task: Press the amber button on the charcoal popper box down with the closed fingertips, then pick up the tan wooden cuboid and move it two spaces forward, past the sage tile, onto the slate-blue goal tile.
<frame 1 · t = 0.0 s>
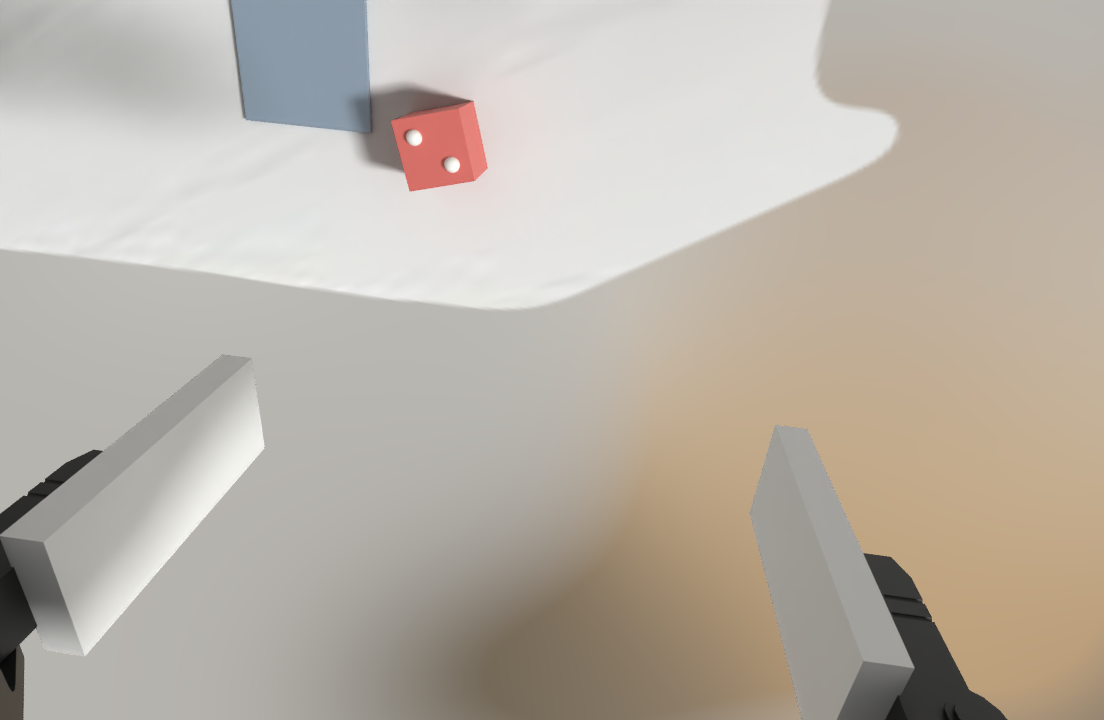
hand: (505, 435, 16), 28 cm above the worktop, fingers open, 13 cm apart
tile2: (303, 56, 39), on the worktop
die: (450, 140, 41), on the worktop
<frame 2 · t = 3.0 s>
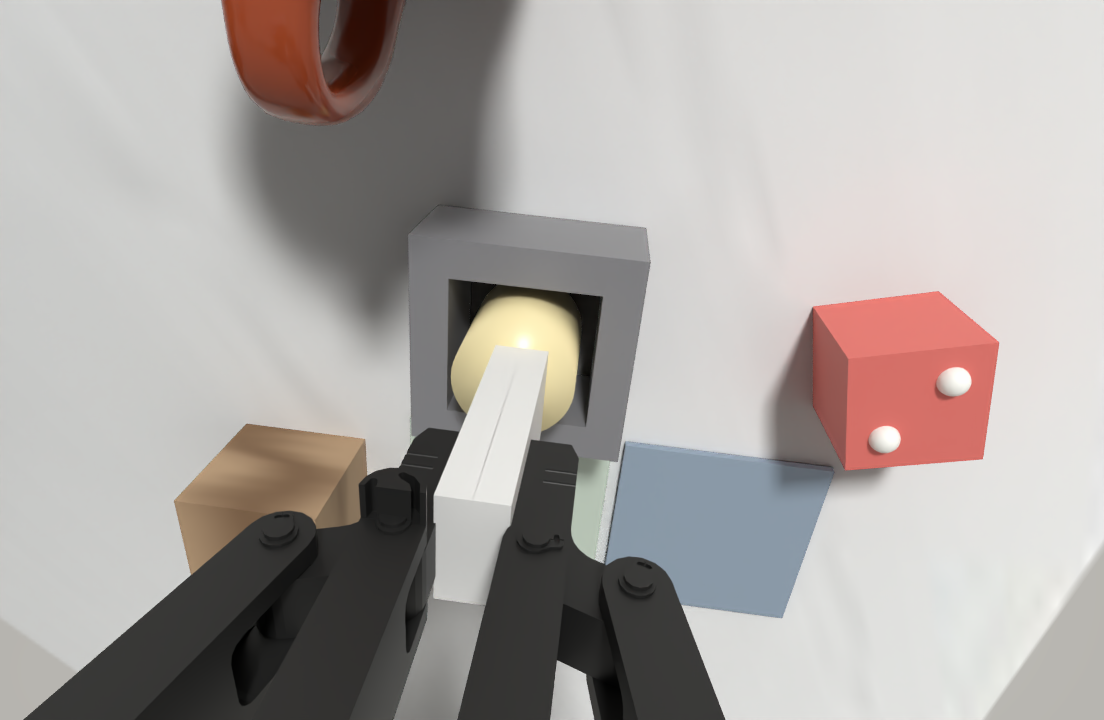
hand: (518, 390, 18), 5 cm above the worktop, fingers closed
tan wooden cuboid: (311, 478, 28), on the worktop
button: (521, 352, 20), point 3 cm above the worktop, slide at -1.3 cm, touching gripper
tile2: (707, 532, 27), on the worktop
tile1: (506, 506, 28), on the worktop
die: (871, 350, 23), on the worktop
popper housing: (533, 312, 23), on the worktop
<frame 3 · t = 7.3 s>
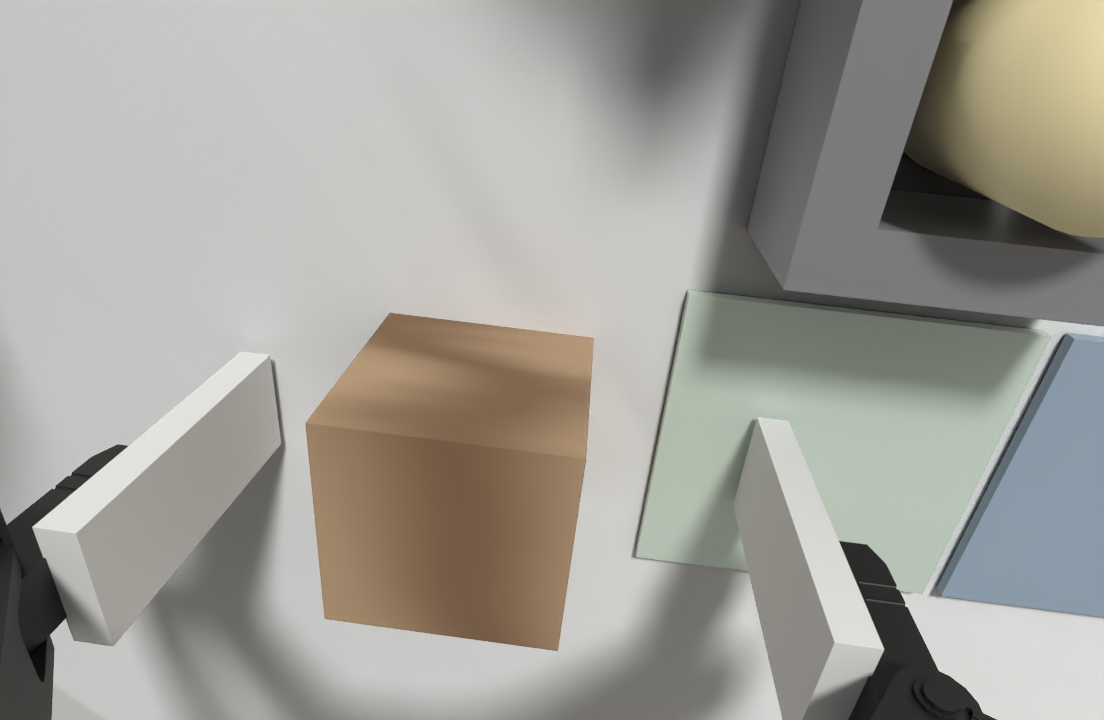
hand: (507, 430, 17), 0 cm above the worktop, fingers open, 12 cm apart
tan wooden cuboid: (486, 410, 17), on the worktop
button: (1057, 85, 10), point 3 cm above the worktop, slide at -1.8 cm
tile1: (815, 453, 17), on the worktop
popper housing: (972, 72, 12), on the worktop
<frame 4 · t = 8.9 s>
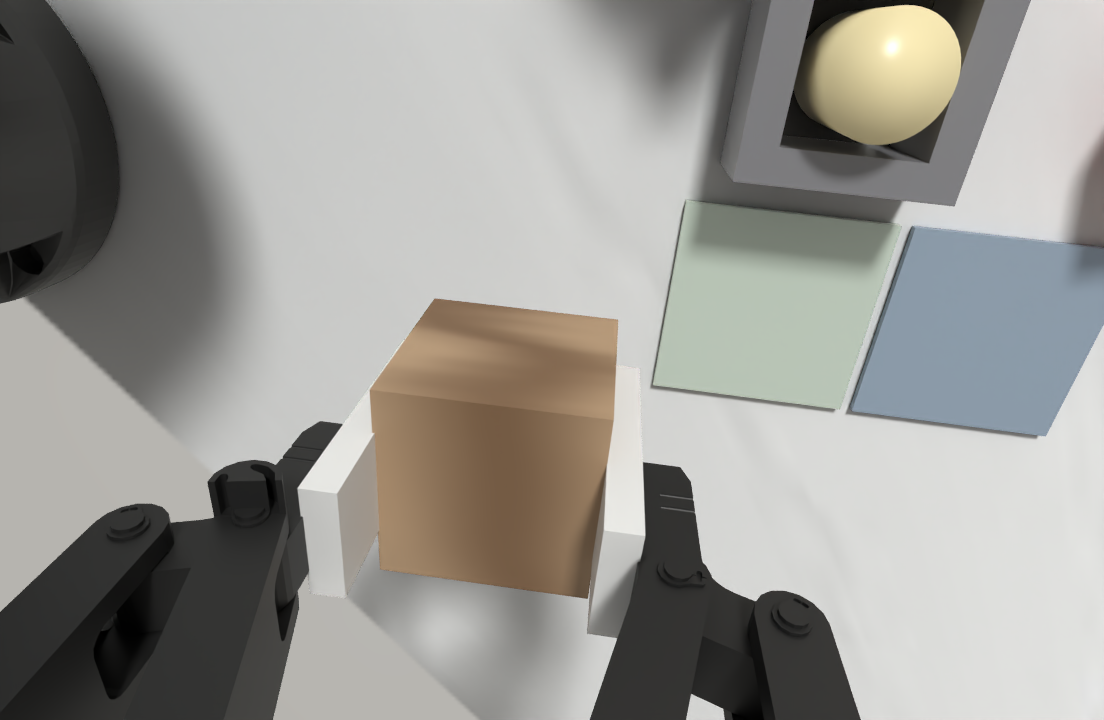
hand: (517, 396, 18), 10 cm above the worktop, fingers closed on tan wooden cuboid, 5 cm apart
tan wooden cuboid: (520, 388, 19), point 9 cm above the worktop, touching gripper
button: (868, 74, 20), point 3 cm above the worktop, slide at -1.8 cm
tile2: (981, 335, 26), on the worktop
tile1: (766, 309, 27), on the worktop
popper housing: (842, 70, 22), on the worktop
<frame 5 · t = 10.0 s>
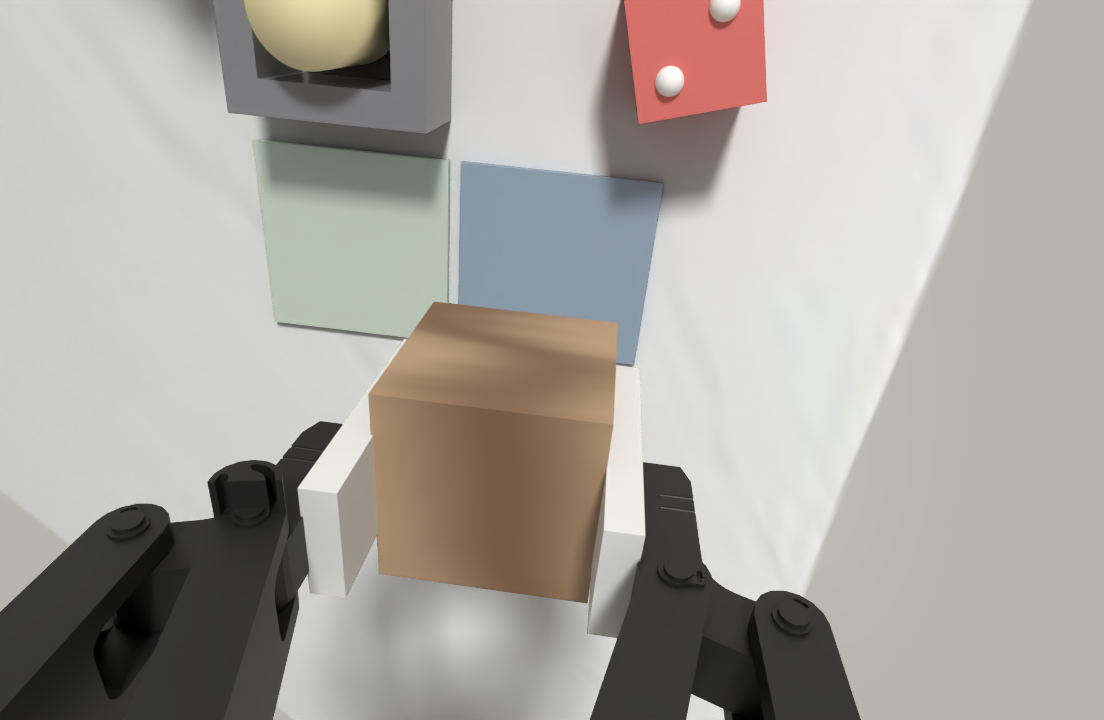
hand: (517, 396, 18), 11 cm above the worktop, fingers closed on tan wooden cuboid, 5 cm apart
tan wooden cuboid: (519, 392, 19), point 10 cm above the worktop, touching gripper
button: (328, 8, 21), point 3 cm above the worktop, slide at -1.8 cm
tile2: (553, 267, 28), on the worktop
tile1: (357, 245, 28), on the worktop
die: (685, 41, 23), on the worktop
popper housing: (358, 10, 24), on the worktop
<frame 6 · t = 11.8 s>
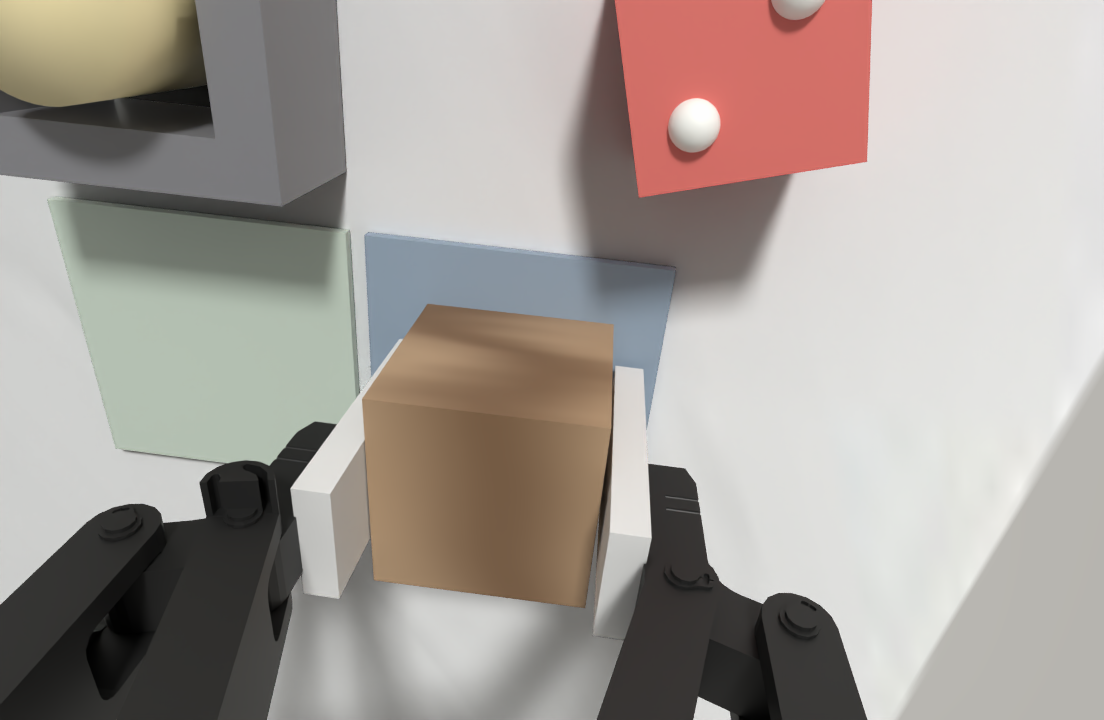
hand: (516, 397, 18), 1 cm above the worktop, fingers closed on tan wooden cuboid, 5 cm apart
tan wooden cuboid: (515, 394, 18), resting on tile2, touching gripper
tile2: (511, 383, 19), on the worktop
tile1: (223, 348, 19), on the worktop
die: (714, 51, 14), on the worktop
when the fingers open (1 cm above the worktop, at t = 11.8 s): tan wooden cuboid stays where it is, resting on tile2.
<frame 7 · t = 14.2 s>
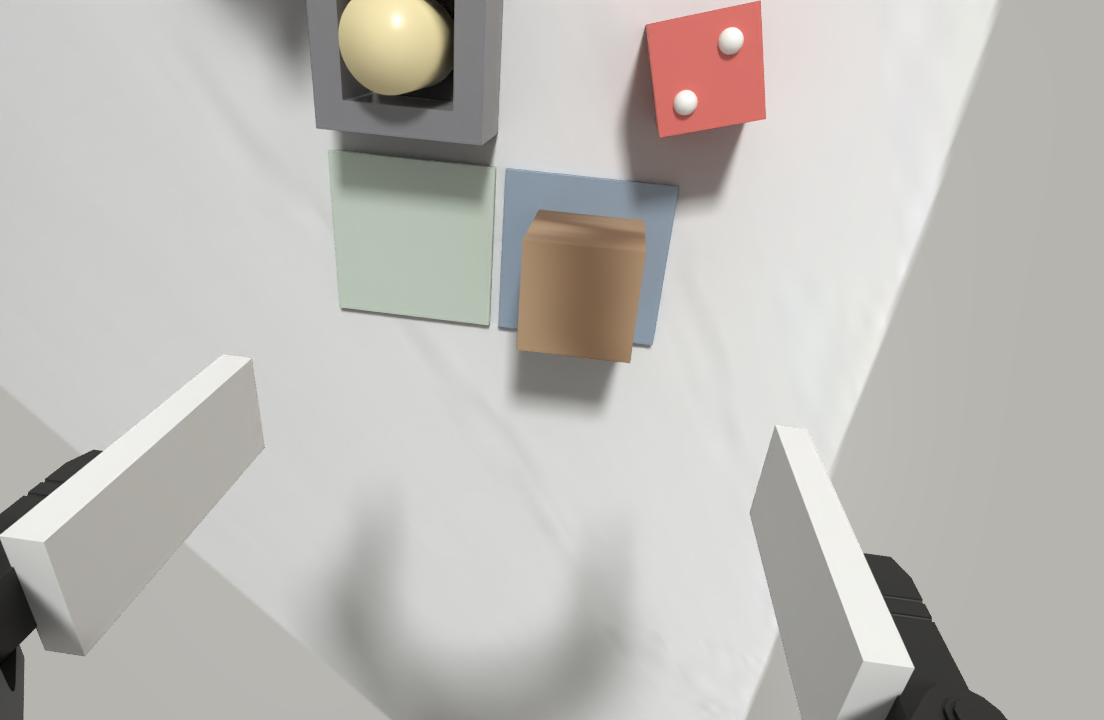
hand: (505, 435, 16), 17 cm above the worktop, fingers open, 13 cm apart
tan wooden cuboid: (586, 265, 32), resting on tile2
button: (402, 42, 26), point 3 cm above the worktop, slide at -1.8 cm
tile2: (583, 259, 32), on the worktop
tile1: (414, 240, 33), on the worktop
die: (698, 67, 28), on the worktop
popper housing: (422, 41, 28), on the worktop
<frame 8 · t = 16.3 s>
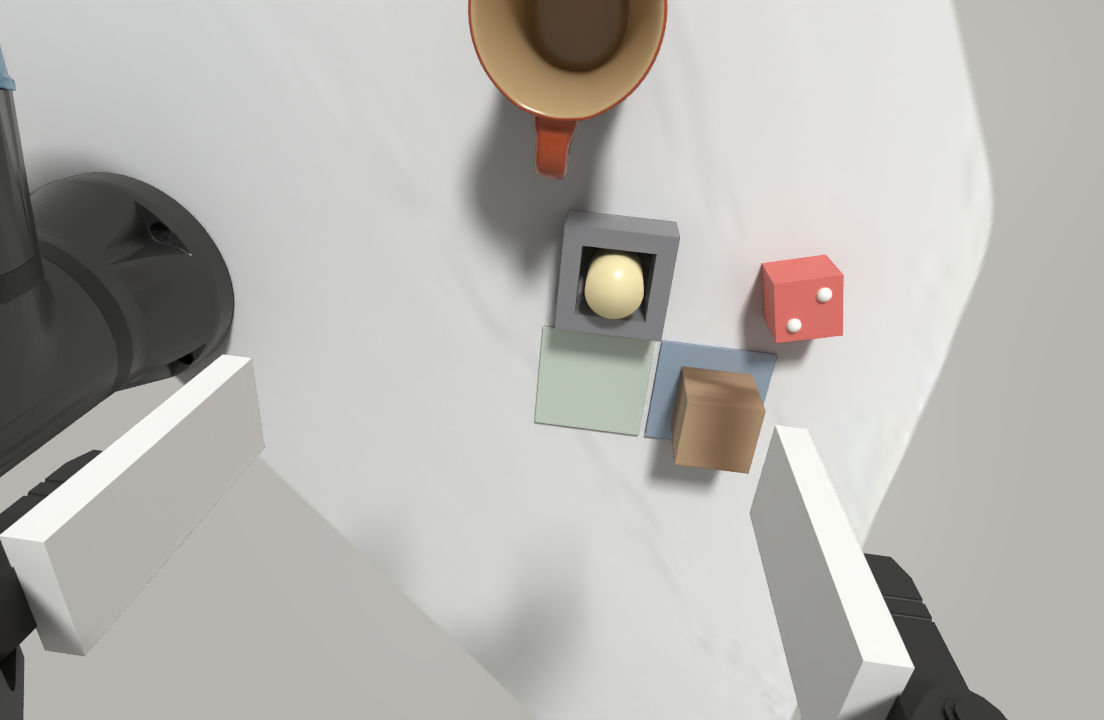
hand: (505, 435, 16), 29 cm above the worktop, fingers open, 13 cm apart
tan wooden cuboid: (710, 400, 48), resting on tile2
button: (614, 280, 42), point 3 cm above the worktop, slide at -1.8 cm
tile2: (707, 395, 48), on the worktop
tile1: (592, 381, 48), on the worktop
die: (794, 287, 44), on the worktop
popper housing: (615, 266, 44), on the worktop
mug: (576, 48, 38), on the worktop
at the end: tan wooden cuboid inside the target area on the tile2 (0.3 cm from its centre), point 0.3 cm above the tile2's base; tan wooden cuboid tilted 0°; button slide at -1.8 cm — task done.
